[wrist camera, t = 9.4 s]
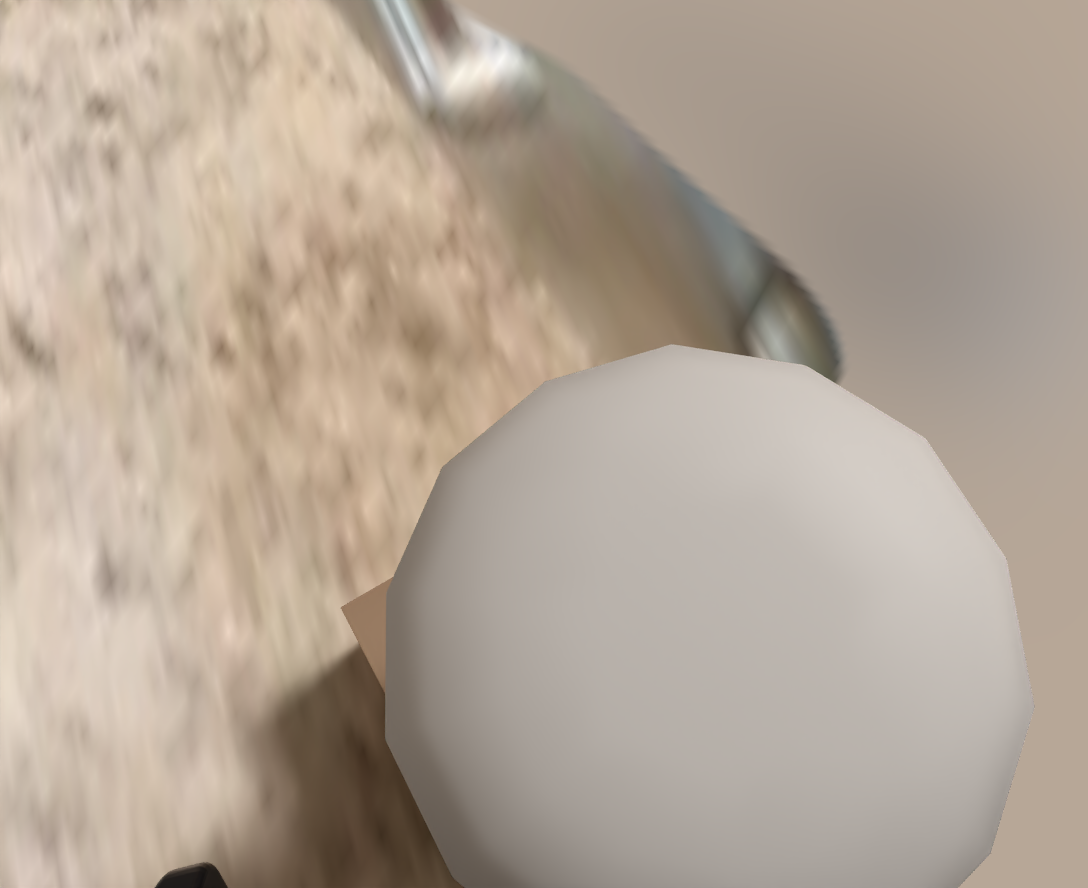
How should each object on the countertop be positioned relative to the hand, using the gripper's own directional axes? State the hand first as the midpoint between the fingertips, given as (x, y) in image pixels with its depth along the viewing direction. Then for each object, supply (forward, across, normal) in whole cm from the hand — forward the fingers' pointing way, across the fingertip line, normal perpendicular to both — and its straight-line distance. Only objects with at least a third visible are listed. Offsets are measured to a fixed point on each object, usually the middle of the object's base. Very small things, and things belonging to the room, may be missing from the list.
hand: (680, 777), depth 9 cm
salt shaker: (+7, 0, +6) cm, 9 cm away
